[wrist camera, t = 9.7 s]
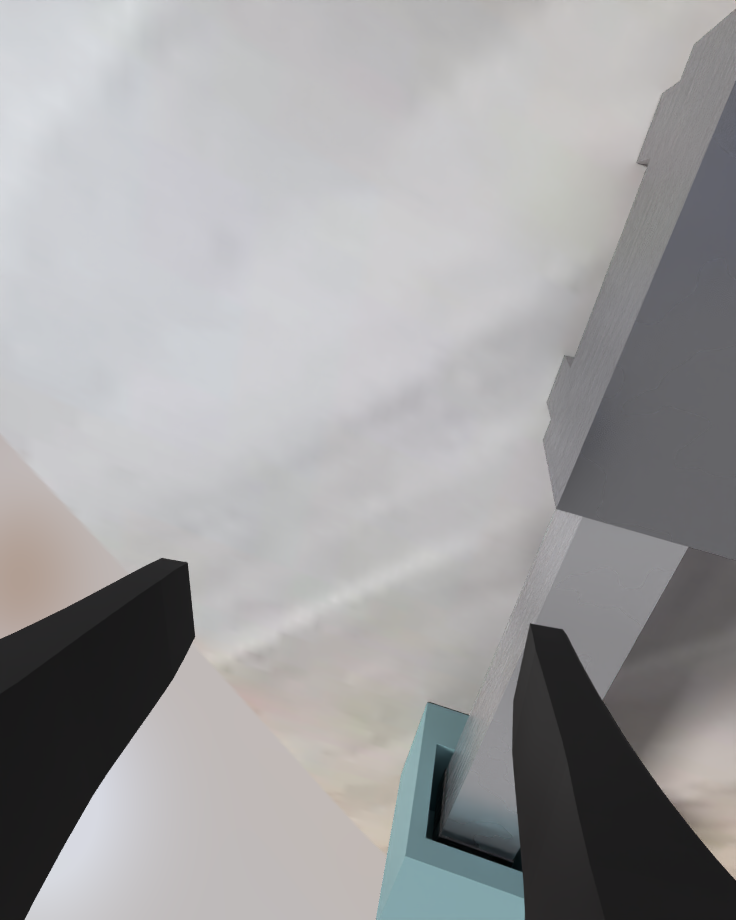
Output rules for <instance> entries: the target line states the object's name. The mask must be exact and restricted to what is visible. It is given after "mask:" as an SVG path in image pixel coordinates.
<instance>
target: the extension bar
mask: <svg viewBox="0 0 736 920" xmlns="http://www.w3.org/2000/svg"><path fill="white" fill-rule="evenodd" d="M687 549H688V547H687V546H683V545H680V544H676V543H673V542H669V541H666V540H662V539H659V538H655V537H652V536H648V535H645V534H641V533H638V532H634V531H631V530H627V529H624V528H620V527H617V526H613V525H610V524H606V523H603V522H599V521H596V520H592V519H589V518H585V517H582V516H578V515H575V514H571V513H568V512H564V511H561V510H557V509H555V512H554V514H553V517H552V519H551V521H550V524H549V526H548V528H547V531H546V533H545V536H544V538H543V540H542V543H541V545H540V548H539V550H538V552H537V555H536V557H535V560H534V562H533V564H532V567H531V569H530V572H529V574H528V576H527V579H526V581H525V583H524V586H523V588H522V591H521V593H520V595H519V598H518V600H517V603H516V605H515V607H514V610H513V612H512V615H511V617H510V619H509V622H508V624H507V627H506V629H505V631H504V634H503V636H502V638H501V641H500V643H499V646H498V648H497V650H496V653H495V655H494V658H493V660H492V662H491V665H490V667H489V670H488V672H487V674H486V677H485V679H484V681H483V684H482V686H481V689H480V691H479V693H478V696H477V698H476V701H475V703H474V705H473V708H472V710H471V713H470V715H469V717H468V720H467V722H466V725H465V727H464V729H463V732H462V734H461V736H460V739H459V741H458V744H457V746H456V748H455V751H454V753H453V756H452V758H451V760H450V763H449V765H448V768H447V769H445V771H444V773H443V775H442V778H441V780H440V783H439V785H438V788H437V797H436V806H435V816H434V825H433V835H432V840H433V841H436V842H438V843H441V844H444V845H447V846H450V847H453V848H455V849H458V850H461V851H464V852H467V853H469V854H472V855H475V856H478V857H481V858H484V859H486V860H489V861H492V862H495V863H498V864H501V865H503V866H506V867H509V868H511V867H512V865H513V863H514V857H515V855H516V853H517V852H518V850H519V848H520V839H519V827H518V816H517V805H516V794H515V782H514V770H513V758H512V727H513V699H514V695H515V690H516V686H517V681H518V676H519V672H520V667H521V662H522V658H523V653H524V649H525V644H526V639H527V635H528V630H529V626H530V623H531V624H536V625H542V626H548V627H553V628H559V629H563V630H564V632H565V633H566V634H567V636H568V638H569V640H570V642H571V644H572V646H573V648H574V650H575V652H576V654H577V656H578V658H579V660H580V661H581V663H582V665H583V667H584V669H585V671H586V673H587V674H588V676H589V678H590V680H591V682H592V683H593V685H594V687H595V689H596V690H597V692H598V694H599V696H600V697H601V699H602V700H603V698H604V697H605V695H606V693H607V691H608V689H609V688H610V686H611V684H612V682H613V681H614V679H615V677H616V675H617V673H618V672H619V670H620V668H621V666H622V665H623V663H624V661H625V659H626V657H627V656H628V654H629V652H630V650H631V648H632V647H633V645H634V643H635V641H636V640H637V638H638V636H639V634H640V632H641V631H642V629H643V627H644V625H645V624H646V622H647V620H648V618H649V616H650V615H651V613H652V611H653V609H654V607H655V606H656V604H657V602H658V600H659V599H660V597H661V595H662V593H663V591H664V590H665V588H666V586H667V584H668V583H669V581H670V579H671V577H672V575H673V574H674V572H675V570H676V568H677V567H678V565H679V563H680V561H681V559H682V558H683V556H684V554H685V552H686V550H687Z"/></svg>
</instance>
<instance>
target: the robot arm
mask: <svg viewBox="0 0 736 920" xmlns="http://www.w3.org/2000/svg"><path fill="white" fill-rule="evenodd" d="M194 638H195V631H194V621H193V611H192V601H191V591H190V581H189V571H188V563H187V562H181V561H176V560H170V559H164V558H161V559H159V560H157V561H155V562H152V563H150V564H148V565H146V566H144V567H142V568H140V569H138V570H137V571H135V572H133V573H131V574H129V575H127V576H125V577H123V578H121V579H120V580H118V581H116V582H114V583H112V584H110V585H109V586H107V587H105V588H103V589H101V590H99V591H97V592H95V593H93V594H91V595H90V596H88V597H86V598H84V599H82V600H80V601H78V602H76V603H74V604H72V605H70V606H69V607H67V608H65V609H63V610H60V611H58V612H56V613H54V614H52V615H50V616H48V617H46V618H44V619H42V620H40V621H38V622H36V623H34V624H32V625H30V626H27V627H25V628H23V629H21V630H19V631H17V632H15V633H13V634H11V635H8V636H6V637H4V638H2V639H0V920H25V918H26V916H27V914H28V912H29V910H30V908H31V906H32V904H33V902H34V900H35V898H36V896H37V894H38V893H39V891H40V889H41V887H42V885H43V883H44V882H45V880H46V878H47V876H48V874H49V872H50V871H51V868H52V867H53V865H54V863H55V861H56V859H57V858H58V856H59V854H60V852H61V850H62V848H63V847H64V845H65V843H66V841H67V839H68V838H69V836H70V834H71V833H72V831H73V829H74V827H75V826H76V824H77V822H78V820H79V819H80V817H81V815H82V813H83V812H84V810H85V808H86V806H87V805H88V803H89V801H90V799H91V798H92V796H93V794H94V793H95V791H96V790H97V788H98V787H99V785H100V784H101V782H102V781H103V779H104V778H105V776H106V774H107V773H108V772H109V770H110V769H111V767H112V766H113V764H114V763H115V762H116V760H117V759H118V757H119V756H120V755H121V753H122V752H123V750H124V749H125V747H126V746H127V745H128V743H129V742H130V740H131V739H132V737H133V736H134V734H135V733H136V732H137V730H138V729H139V728H140V726H141V725H142V723H143V722H144V720H145V719H146V717H147V716H148V715H149V713H150V712H151V710H152V709H153V708H154V706H155V705H156V703H157V702H158V700H159V699H160V697H161V696H162V694H163V693H164V692H165V690H166V689H167V687H168V686H169V684H170V682H171V681H172V680H173V678H174V676H175V674H176V673H177V671H178V669H179V667H180V665H181V663H182V662H183V660H184V658H185V656H186V654H187V652H188V650H189V648H190V646H191V644H192V642H193V640H194ZM512 758H513V770H514V782H515V794H516V805H517V816H518V827H519V839H520V850H521V861H522V872H523V887H524V906H525V920H736V880H735V879H734V878H733V877H732V876H731V875H730V874H729V872H728V871H727V870H726V869H725V868H724V867H723V866H722V865H721V864H720V863H719V861H718V860H717V859H716V858H715V857H714V856H713V854H712V853H711V852H710V851H709V850H708V848H707V847H706V846H705V845H704V843H703V842H702V841H701V840H700V839H699V837H698V836H697V835H696V834H695V833H694V831H693V830H692V829H691V828H690V826H689V825H688V824H687V823H686V821H685V820H684V819H683V817H682V816H681V815H680V814H679V812H678V811H677V810H676V808H675V807H674V806H673V805H672V803H671V802H670V801H669V799H668V798H667V797H666V795H665V794H664V793H663V791H662V790H661V789H660V787H659V786H658V784H657V783H656V782H655V780H654V779H653V777H652V776H651V775H650V773H649V772H648V770H647V769H646V767H645V766H644V765H643V763H642V762H641V760H640V759H639V757H638V756H637V754H636V753H635V751H634V750H633V749H632V747H631V746H630V744H629V742H628V741H627V739H626V738H625V736H624V735H623V733H622V732H621V730H620V728H619V727H618V725H617V724H616V722H615V720H614V719H613V717H612V715H611V714H610V712H609V711H608V709H607V707H606V706H605V704H604V702H603V701H602V699H601V697H600V696H599V694H598V692H597V690H596V689H595V687H594V685H593V683H592V682H591V680H590V678H589V676H588V674H587V673H586V671H585V669H584V667H583V665H582V663H581V661H580V660H579V658H578V656H577V654H576V652H575V650H574V648H573V646H572V644H571V642H570V640H569V638H568V636H567V634H566V633H565V632H564V630H563V629H559V628H553V627H548V626H542V625H536V624H531V623H530V626H529V630H528V635H527V639H526V644H525V649H524V653H523V658H522V662H521V667H520V672H519V676H518V681H517V686H516V690H515V695H514V699H513V727H512Z"/></svg>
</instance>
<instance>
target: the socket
mask: <svg viewBox="0 0 736 920" xmlns="http://www.w3.org/2000/svg"><path fill="white" fill-rule="evenodd" d="M468 717H469V716H468V715H465V714H462V713H459V712H456V711H453V710H450V709H447V708H444V707H441V706H438V705H435V704H432V703H429V702H427V705H426V708H425V711H424V713H423V716H422V719H421V722H420V724H419V727H418V730H417V733H416V735H415V738H414V741H413V744H412V746H411V749H410V752H409V754H408V757H407V760H406V763H405V765H404V768H403V771H402V774H401V778H400V784H399V790H398V795H397V801H396V807H395V813H394V819H393V824H392V830H391V836H390V842H389V847H388V853H387V859H386V865H385V870H384V877H383V882H382V888H381V894H380V899H379V905H378V911H377V917H376V920H525V906H524V887H523V872H522V861H521V850H520V848H519V850H518V852H517V853H516V855H515V857H514V863H513V865H512V867H511V868H509V867H506V866H503V865H501V864H498V863H495V862H492V861H489V860H486V859H484V858H481V857H478V856H475V855H472V854H469V853H467V852H464V851H461V850H458V849H455V848H453V847H450V846H447V845H444V844H441V843H438V842H436V841H433V840H432V835H433V825H434V816H435V806H436V797H437V788H438V785H439V783H440V780H441V778H442V775H443V773H444V771H445V769H447V768H448V765H449V763H450V760H451V758H452V756H453V753H454V751H455V748H456V746H457V744H458V741H459V739H460V736H461V734H462V732H463V729H464V727H465V725H466V722H467V720H468Z"/></svg>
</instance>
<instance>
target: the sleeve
mask: <svg viewBox="0 0 736 920" xmlns="http://www.w3.org/2000/svg"><path fill="white" fill-rule="evenodd" d="M637 163H639V164H644V165H648V166H647V169H646V172H645V174H644V177H643V179H642V182H641V185H640V187H639V190H638V193H637V195H636V198H635V200H634V203H633V206H632V208H631V211H630V214H629V216H628V219H627V221H626V224H625V227H624V229H623V232H622V234H621V237H620V240H619V242H618V245H617V248H616V250H615V253H614V255H613V258H612V261H611V263H610V266H609V268H608V271H607V274H606V276H605V279H604V282H603V284H602V287H601V289H600V292H599V295H598V297H597V300H596V303H595V305H594V308H593V310H592V313H591V316H590V318H589V321H588V323H587V326H586V329H585V331H584V334H583V337H582V339H581V342H580V344H579V347H578V350H577V352H576V355H575V357H574V358H573V357H569V356H565V355H564V358H563V361H562V363H561V366H560V369H559V372H558V374H557V377H556V380H555V382H554V385H553V388H552V390H551V393H550V396H549V398H548V401H547V405H548V409H549V413H550V417H551V420H550V423H549V426H548V428H547V431H546V433H545V436H544V439H543V443H544V448H545V454H546V459H547V464H548V469H549V474H550V480H551V485H552V490H553V495H554V501H555V506H556V509H557V510H561V511H564V512H568V513H571V514H575V515H578V516H582V517H585V518H589V519H592V520H596V521H599V522H603V523H606V524H610V525H613V526H617V527H620V528H624V529H627V530H631V531H634V532H638V533H641V534H645V535H648V536H652V537H655V538H659V539H662V540H666V541H669V542H673V543H676V544H680V545H683V546H687V547H691V548H694V549H698V550H701V551H705V552H708V553H712V554H715V555H719V556H722V557H726V558H729V559H733V560H736V9H735V10H734V11H733V12H731V13H730V14H729V15H728V16H727V17H726V18H724V19H723V20H722V21H721V22H720V23H719V24H717V25H716V26H715V27H714V28H713V29H712V30H710V31H709V32H708V33H707V34H706V35H704V36H703V37H702V38H701V39H700V40H699V41H697V42H696V43H695V44H694V46H693V49H692V51H691V54H690V56H689V59H688V62H687V64H686V67H685V70H684V72H683V75H682V77H681V80H680V81H679V82H678V83H676V84H675V85H674V86H672V87H671V88H669V89H668V90H667V91H665V92H664V93H662V96H661V98H660V101H659V104H658V106H657V109H656V112H655V114H654V117H653V120H652V122H651V125H650V128H649V130H648V133H647V136H646V138H645V141H644V144H643V146H642V149H641V152H640V154H639V157H638V160H637Z"/></svg>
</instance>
